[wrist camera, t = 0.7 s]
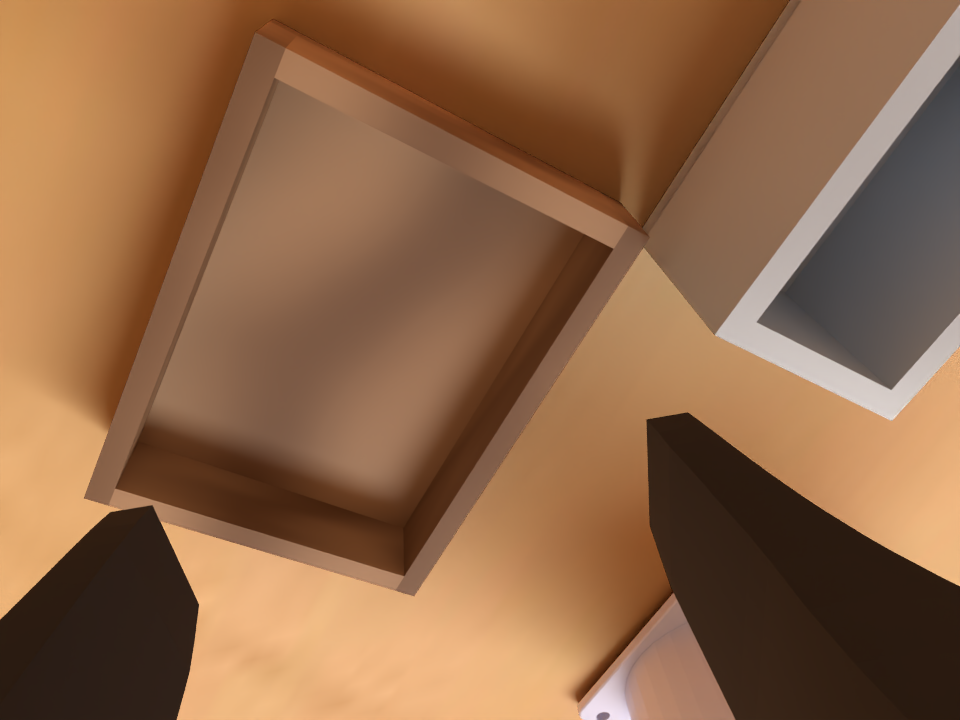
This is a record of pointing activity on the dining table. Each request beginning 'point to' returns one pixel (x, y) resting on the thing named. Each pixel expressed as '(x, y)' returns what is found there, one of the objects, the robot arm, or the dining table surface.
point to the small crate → (831, 200)
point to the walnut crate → (354, 320)
